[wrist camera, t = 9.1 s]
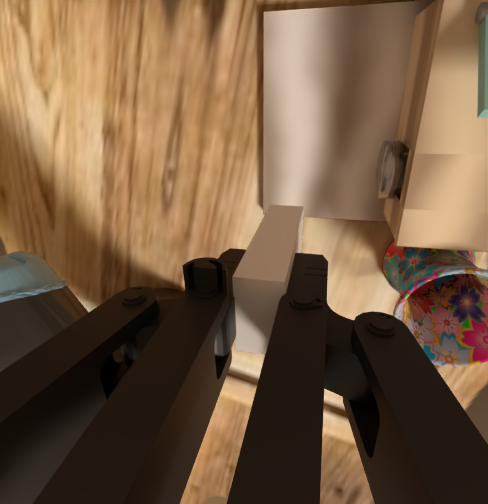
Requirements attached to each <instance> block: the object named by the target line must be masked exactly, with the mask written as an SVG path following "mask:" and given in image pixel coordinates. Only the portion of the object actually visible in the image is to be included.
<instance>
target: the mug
mask: <svg viewBox="0 0 488 504" xmlns="http://www.w3.org/2000/svg"><path fill="white" fill-rule="evenodd" d="M383 271H384V275H385V278H386V280H387V281H388V283H389V284H390V285H391V287H392V288H393V289H395V290H396V291H397V292H399V293H400V298H399V299H398V301H397V303H396V305H395V308H394V312H393V316H394V317H396V318H398V319H399V320H401V321H402V322H403V323H404V324H405V325H406V326H407V327H408V328H409V330H410V331H411V333H412V334H413V335H414V337H415V338H416V340H417V341H418V343H419V344H420V346H421V347H422V349H423V350H424V352H425V353H426V355H427V356H428V358H429V359H430V360H431V362H432V363H433V364H436V365H441V366H451V367H462V366H471V365H476V364H480V363H484V362H487V361H488V270H485V269H481V268H477V267H476V266H475V252H474V251H464V250H450V249H436V248H422V247H408V246H397V245H396V243H395V241H394V242H393V243H392V244H391V245H390V246H389V248H388V250H387V252H386V254H385V257H384V261H383Z"/></svg>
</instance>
